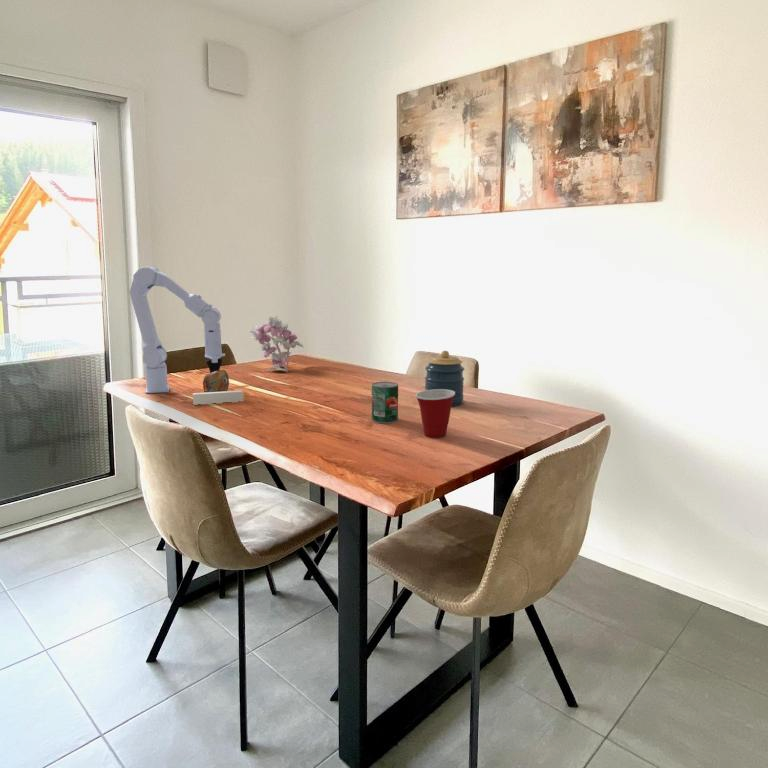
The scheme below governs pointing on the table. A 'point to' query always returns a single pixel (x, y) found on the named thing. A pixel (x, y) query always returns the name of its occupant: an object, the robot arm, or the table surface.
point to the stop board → (217, 397)
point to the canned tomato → (384, 402)
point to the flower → (276, 341)
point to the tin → (216, 381)
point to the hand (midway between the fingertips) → (214, 379)
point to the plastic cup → (435, 411)
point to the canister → (446, 375)
